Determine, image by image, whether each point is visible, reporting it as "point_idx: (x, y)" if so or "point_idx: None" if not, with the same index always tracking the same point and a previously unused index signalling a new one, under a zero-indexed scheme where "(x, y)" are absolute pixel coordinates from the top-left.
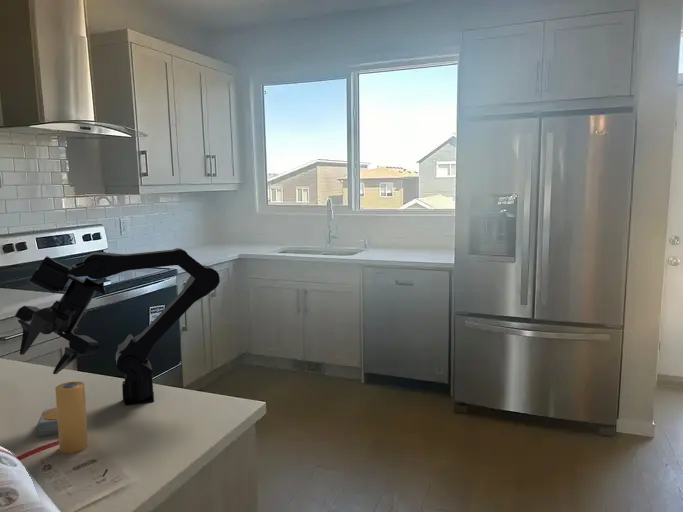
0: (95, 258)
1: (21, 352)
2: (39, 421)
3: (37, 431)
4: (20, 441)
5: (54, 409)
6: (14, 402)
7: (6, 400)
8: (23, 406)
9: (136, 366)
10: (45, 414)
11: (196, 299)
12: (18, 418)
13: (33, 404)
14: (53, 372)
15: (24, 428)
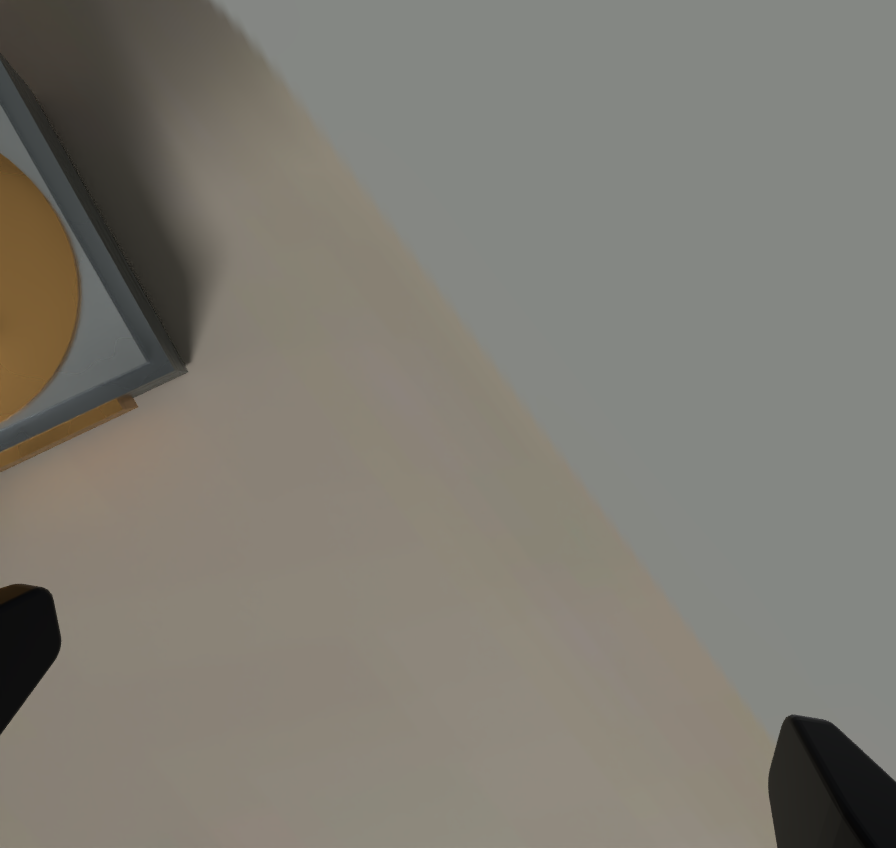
0: None
1: (810, 739)
2: (27, 124)
3: (12, 70)
4: (141, 44)
5: (19, 338)
6: (652, 663)
7: (721, 680)
8: (550, 615)
9: None
10: (25, 213)
11: None
12: (444, 424)
13: (507, 660)
14: (17, 588)
15: (277, 266)
